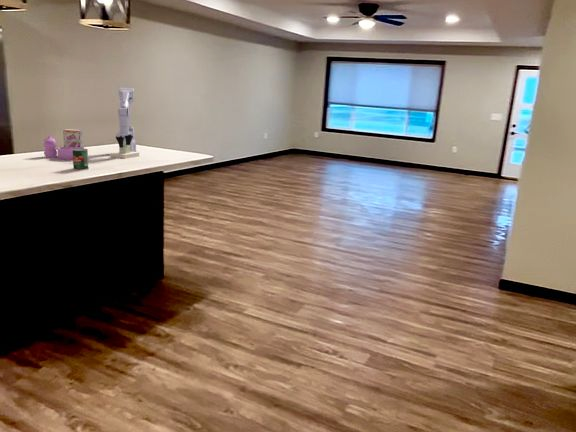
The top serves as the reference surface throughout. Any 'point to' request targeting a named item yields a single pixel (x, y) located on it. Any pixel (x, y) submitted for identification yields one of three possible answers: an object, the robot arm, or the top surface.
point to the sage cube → (124, 149)
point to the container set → (63, 152)
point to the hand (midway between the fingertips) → (124, 147)
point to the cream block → (124, 154)
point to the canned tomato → (80, 159)
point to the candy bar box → (73, 138)
